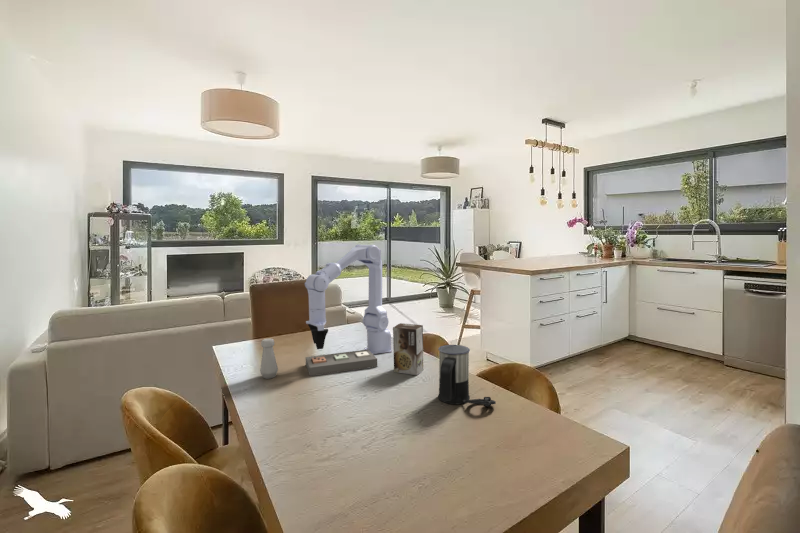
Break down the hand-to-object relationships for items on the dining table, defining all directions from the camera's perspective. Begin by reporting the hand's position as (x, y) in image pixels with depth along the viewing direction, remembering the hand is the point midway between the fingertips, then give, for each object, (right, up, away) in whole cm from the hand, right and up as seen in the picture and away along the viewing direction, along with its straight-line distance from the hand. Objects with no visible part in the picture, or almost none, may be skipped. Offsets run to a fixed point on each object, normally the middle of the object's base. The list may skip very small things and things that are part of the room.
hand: (318, 345), depth 138 cm
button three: (0, -7, +1) cm, 7 cm away
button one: (+15, -7, +6) cm, 18 cm away
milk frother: (+48, -11, -27) cm, 56 cm away
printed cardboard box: (+32, -9, -2) cm, 33 cm away
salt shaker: (-16, -9, -6) cm, 19 cm away
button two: (+8, -7, +3) cm, 11 cm away
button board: (+8, -8, +4) cm, 12 cm away
